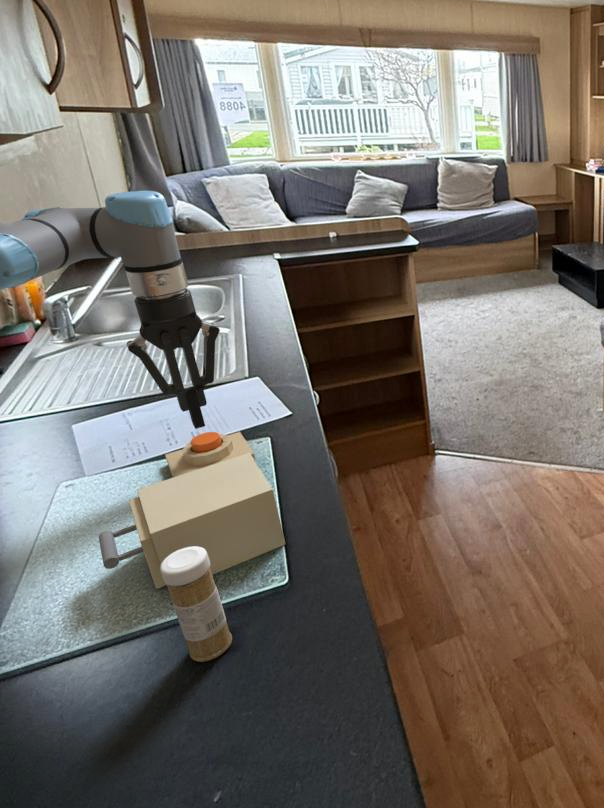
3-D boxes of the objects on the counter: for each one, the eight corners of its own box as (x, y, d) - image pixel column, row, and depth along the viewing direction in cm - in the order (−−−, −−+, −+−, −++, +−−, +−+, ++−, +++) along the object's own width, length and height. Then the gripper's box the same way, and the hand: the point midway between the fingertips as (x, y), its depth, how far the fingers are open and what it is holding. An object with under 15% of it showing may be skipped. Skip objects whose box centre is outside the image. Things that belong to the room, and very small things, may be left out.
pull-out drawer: (116, 605, 82) (98, 556, 80) (107, 558, 91) (90, 512, 88) (266, 544, 93) (255, 499, 90) (246, 507, 101) (235, 464, 98)
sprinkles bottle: (221, 627, 80) (194, 539, 75) (240, 644, 78) (214, 554, 73) (182, 652, 77) (151, 561, 72) (200, 670, 74) (170, 578, 69)
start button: (195, 456, 110) (193, 447, 109) (190, 446, 113) (188, 437, 112) (224, 447, 112) (222, 438, 112) (218, 437, 116) (216, 429, 115)
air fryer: (169, 592, 86) (150, 533, 82) (154, 544, 95) (136, 489, 91) (285, 544, 94) (272, 489, 91) (262, 504, 103) (249, 452, 100)
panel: (178, 490, 107) (172, 470, 105) (168, 465, 114) (162, 445, 113) (256, 464, 114) (251, 444, 113) (242, 441, 121) (237, 422, 120)
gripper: (114, 307, 95) (157, 446, 104) (213, 289, 103) (246, 420, 111) (109, 295, 100) (150, 428, 109) (204, 279, 108) (235, 404, 117)
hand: (198, 424), depth 110 cm, fingers closed
